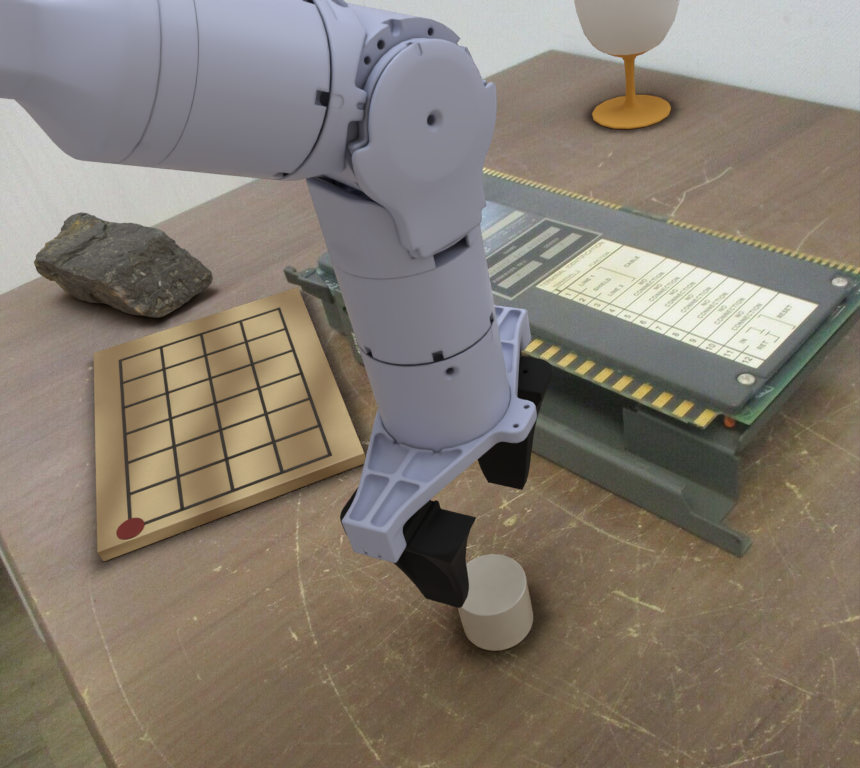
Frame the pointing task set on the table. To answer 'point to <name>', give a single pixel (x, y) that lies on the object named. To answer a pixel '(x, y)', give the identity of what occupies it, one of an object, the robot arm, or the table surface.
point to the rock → (122, 266)
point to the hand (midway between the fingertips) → (478, 536)
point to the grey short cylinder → (496, 603)
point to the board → (214, 421)
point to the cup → (627, 52)
